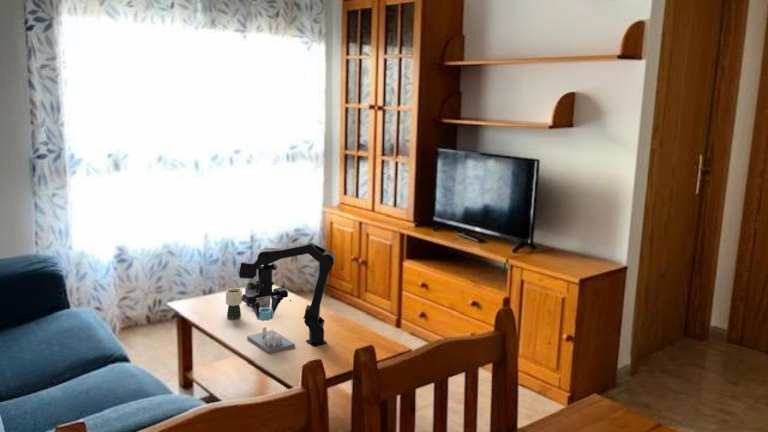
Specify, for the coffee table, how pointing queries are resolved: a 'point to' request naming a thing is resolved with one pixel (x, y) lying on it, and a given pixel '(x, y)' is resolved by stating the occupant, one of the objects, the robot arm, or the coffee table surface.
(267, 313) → the teal gear
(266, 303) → the decorative rock
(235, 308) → the character mug
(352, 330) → the coffee table surface
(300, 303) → the coffee table surface
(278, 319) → the coffee table surface
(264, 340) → the gear board
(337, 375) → the coffee table surface
